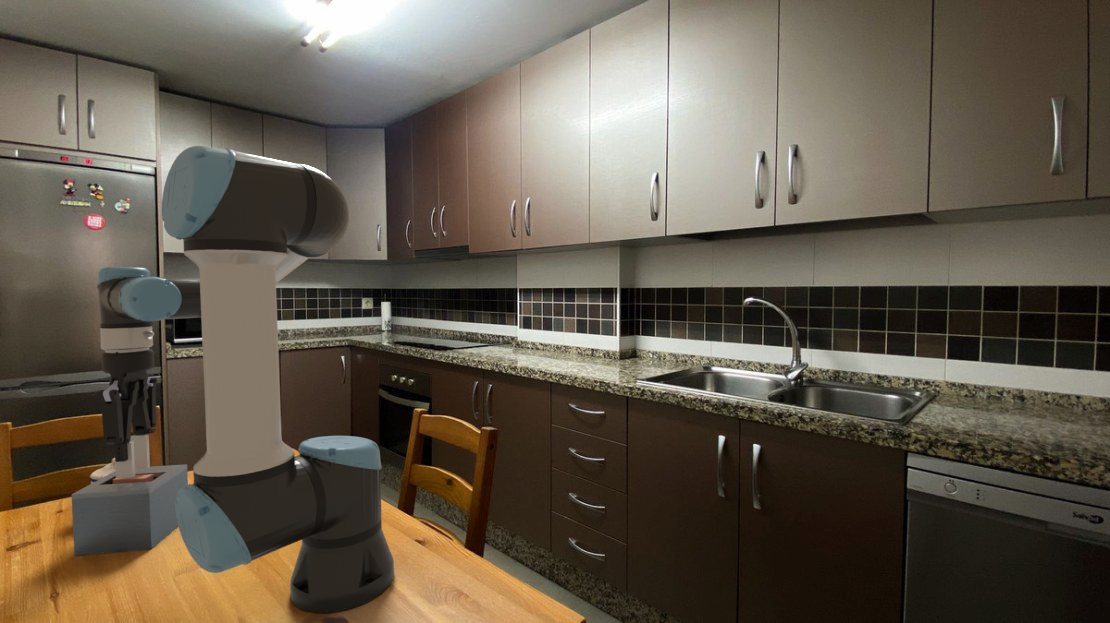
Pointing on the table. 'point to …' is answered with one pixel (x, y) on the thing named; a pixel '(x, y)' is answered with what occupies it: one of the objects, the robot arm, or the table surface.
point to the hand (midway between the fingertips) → (133, 472)
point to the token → (134, 479)
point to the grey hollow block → (127, 511)
